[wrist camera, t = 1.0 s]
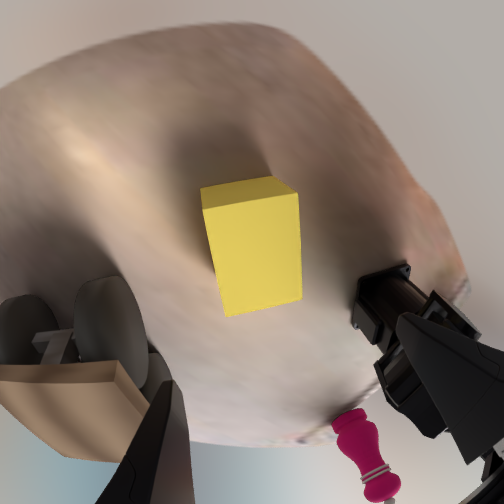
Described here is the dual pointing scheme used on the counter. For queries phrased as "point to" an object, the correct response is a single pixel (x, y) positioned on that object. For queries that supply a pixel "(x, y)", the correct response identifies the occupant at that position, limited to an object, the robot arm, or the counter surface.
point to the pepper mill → (366, 455)
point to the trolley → (80, 370)
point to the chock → (254, 243)
